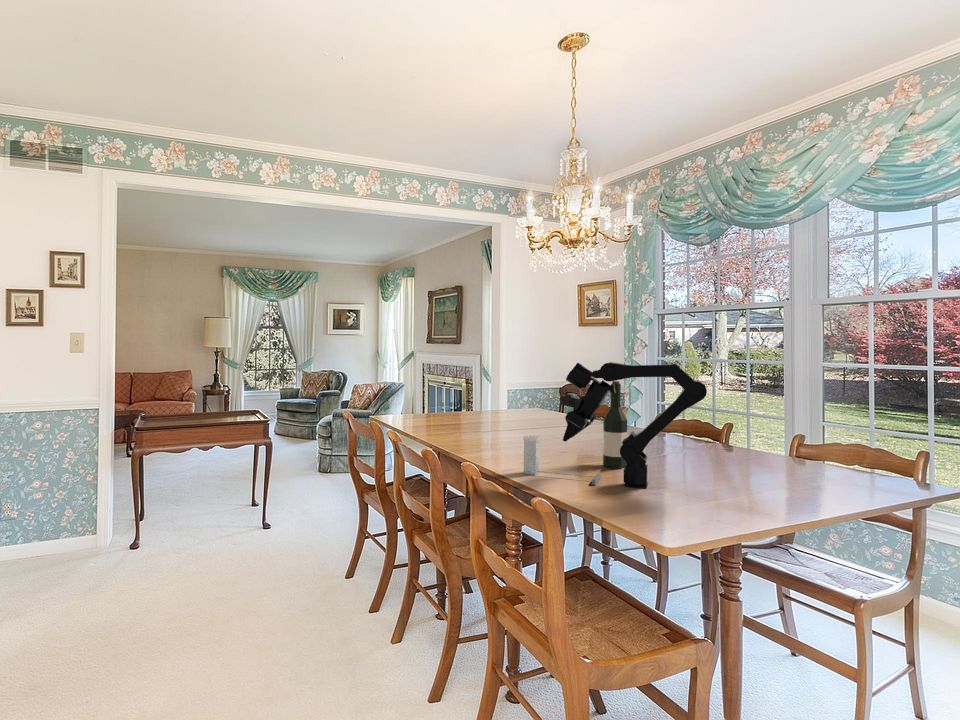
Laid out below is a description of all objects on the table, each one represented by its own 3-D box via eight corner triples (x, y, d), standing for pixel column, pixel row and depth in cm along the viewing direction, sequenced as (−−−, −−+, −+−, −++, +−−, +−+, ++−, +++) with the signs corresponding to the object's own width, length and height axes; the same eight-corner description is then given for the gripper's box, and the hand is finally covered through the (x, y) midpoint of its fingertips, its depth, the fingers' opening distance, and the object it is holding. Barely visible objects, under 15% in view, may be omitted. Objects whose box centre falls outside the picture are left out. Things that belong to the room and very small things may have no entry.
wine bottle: (598, 464, 199) (599, 380, 198) (618, 463, 201) (619, 380, 200) (610, 469, 191) (611, 382, 190) (631, 468, 193) (632, 381, 192)
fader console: (600, 478, 177) (600, 473, 177) (595, 485, 169) (595, 479, 169) (530, 472, 186) (530, 467, 186) (522, 478, 178) (522, 472, 177)
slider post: (539, 472, 182) (540, 435, 182) (536, 475, 178) (536, 437, 178) (526, 471, 184) (527, 434, 184) (522, 473, 180) (523, 436, 180)
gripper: (577, 382, 185) (553, 421, 188) (565, 385, 167) (538, 427, 171) (606, 401, 181) (581, 440, 184) (596, 405, 164) (568, 449, 167)
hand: (567, 438), depth 177 cm, fingers open, 9 cm apart
